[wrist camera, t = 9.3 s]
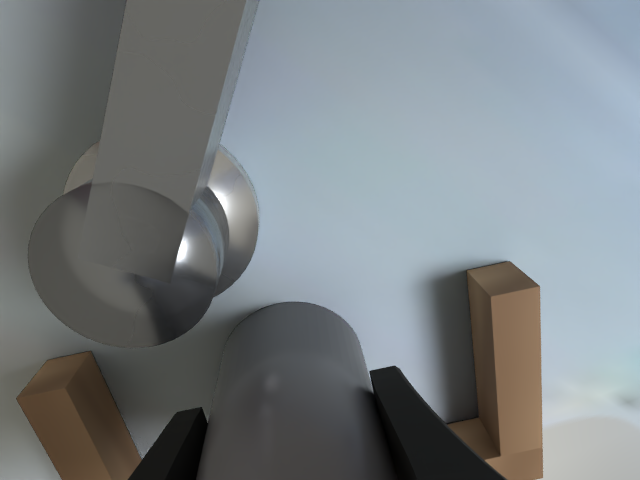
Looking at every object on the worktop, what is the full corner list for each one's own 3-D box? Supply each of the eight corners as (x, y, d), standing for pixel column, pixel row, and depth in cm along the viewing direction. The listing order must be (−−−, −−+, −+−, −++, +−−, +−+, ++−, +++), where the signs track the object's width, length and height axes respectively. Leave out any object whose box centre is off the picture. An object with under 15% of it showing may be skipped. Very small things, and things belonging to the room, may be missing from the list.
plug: (349, 288, 12) (429, 551, 5) (372, 403, 13) (456, 719, 7) (204, 319, 12) (108, 619, 5) (242, 431, 13) (203, 774, 7)
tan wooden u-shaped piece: (510, 261, 12) (539, 285, 11) (517, 438, 14) (543, 477, 13) (47, 360, 12) (15, 398, 11) (130, 521, 14) (113, 569, 13)
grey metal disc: (232, 105, 10) (226, 108, 9) (277, 276, 12) (276, 296, 11) (42, 145, 10) (14, 154, 9) (113, 311, 12) (96, 334, 11)
